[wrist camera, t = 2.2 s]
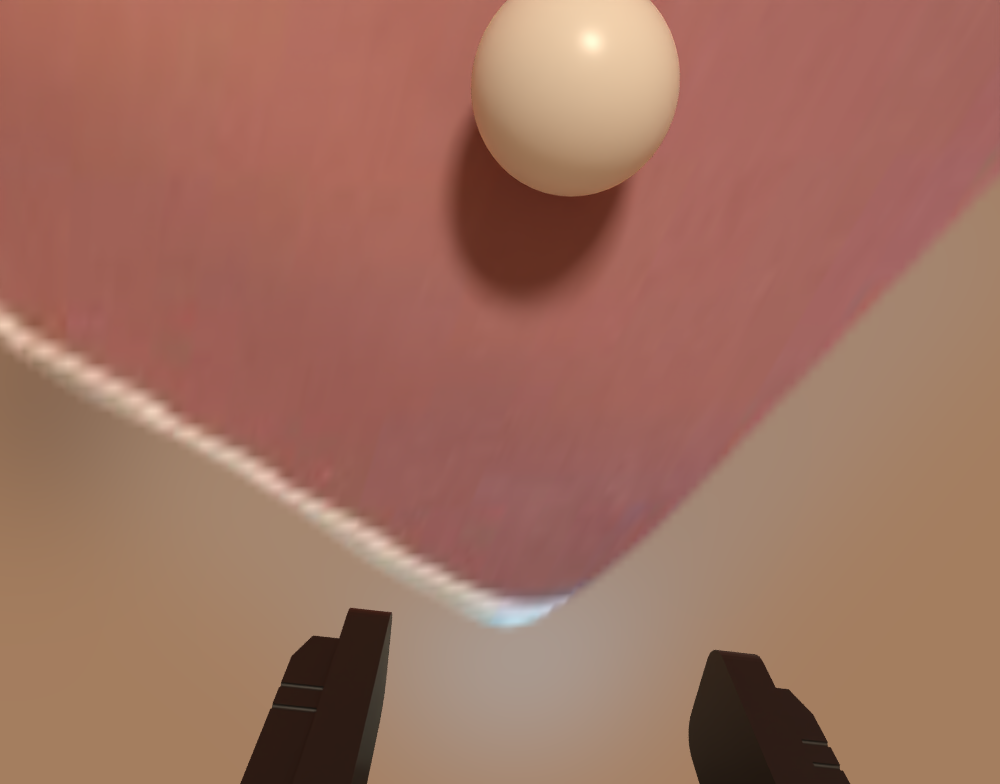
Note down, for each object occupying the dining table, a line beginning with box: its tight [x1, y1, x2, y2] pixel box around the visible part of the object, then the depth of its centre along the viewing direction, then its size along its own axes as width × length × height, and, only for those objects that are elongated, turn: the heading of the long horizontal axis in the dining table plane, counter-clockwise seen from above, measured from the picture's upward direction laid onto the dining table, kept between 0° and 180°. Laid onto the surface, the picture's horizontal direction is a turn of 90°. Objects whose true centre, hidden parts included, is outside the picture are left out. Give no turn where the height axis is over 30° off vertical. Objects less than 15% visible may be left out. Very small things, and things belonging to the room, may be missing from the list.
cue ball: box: [471, 0, 680, 197], centre depth 20 cm, size 6×6×6 cm
